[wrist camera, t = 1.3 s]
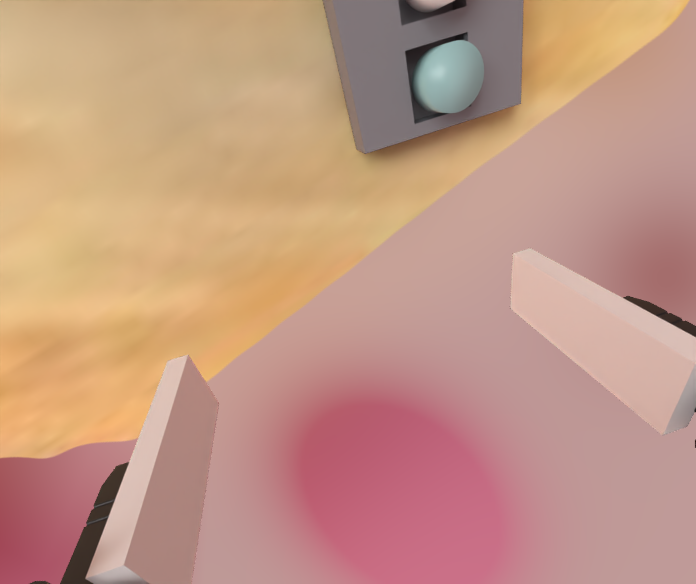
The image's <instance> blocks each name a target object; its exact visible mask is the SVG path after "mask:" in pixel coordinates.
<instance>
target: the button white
mask: <svg viewBox="0 0 696 584" xmlns="http://www.w3.org/2000/svg"><path fill="white" fill-rule="evenodd" d="M452 1H454V0H406V2H407V3H408V4H409V5H410V6H411V7H412V8H413V9H415V10H417V11H420V12H432V11H435V10H437V9H439V8H441V7H443V6H445V5H447V4H449V3H450V2H452Z"/></svg>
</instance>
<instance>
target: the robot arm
mask: <svg viewBox="0 0 696 584" xmlns="http://www.w3.org/2000/svg"><path fill="white" fill-rule="evenodd" d="M510 309H511V310H512V311H514V312H515V313H516V314H517V315H518V316H520V317H521V318H522V319H523V320H524V321H526V322H527V323H528V324H529V325H530V326H532V327H533V328H534V329H535V330H536V331H538V332H539V333H540V334H541V335H542V336H544V337H545V338H546V339H547V340H548V341H550V342H551V343H552V344H553V345H555V346H556V347H557V348H558V349H559V350H561V351H562V352H563V353H564V354H565V355H567V356H568V357H569V358H570V359H571V360H573V361H574V362H575V363H576V364H577V365H579V366H580V367H581V368H582V369H583V370H584V371H586V372H587V373H588V374H589V375H591V376H592V377H593V378H594V379H595V380H596V381H598V382H599V383H600V384H602V385H603V386H604V387H605V388H606V389H607V390H609V391H610V392H611V393H612V394H613V395H614V396H616V397H617V398H618V399H619V400H621V401H622V402H623V403H624V404H625V405H627V406H628V407H629V408H630V409H631V410H633V411H634V412H635V413H636V414H637V415H639V416H640V417H641V418H642V419H643V420H645V421H646V422H647V423H648V424H649V425H651V426H652V427H653V428H654V429H655V430H657V431H658V432H659V433H660V434H661V435H665V434H668V433H671V432H674V431H676V430H679V429H682V428H684V427H687V426H688V424H689V422H690V420H691V418H692V416H693V414H694V412H696V326H695V325H693V324H691V323H689V322H687V321H682V319H681V318H679V317H677V316H675V315H673V314H671V313H669V314H668V313H667V311H665V310H664V309H662V308H659V307H658V306H656V305H654V304H652V303H650V302H647V301H644V300H640V299H637V298H633V297H630V296H626V297H623V298H622V297H620V296H618V295H616V294H614V293H613V292H611V291H609V290H607V289H605V288H603V287H601V286H600V285H598V284H596V283H594V282H592V281H590V280H588V279H587V278H585V277H583V276H581V275H579V274H577V273H576V272H574V271H572V270H570V269H568V268H566V267H564V266H563V265H561V264H559V263H557V262H555V261H553V260H552V259H550V258H548V257H546V256H544V255H542V254H540V253H539V252H537V251H535V250H533V249H531V248H529V249H525V250H522V251H519V252H516V253H513V258H512V279H511V301H510ZM218 407H219V402H218V401H217V399H216V398H215V396H214V394H213V393H212V391H211V390H210V388H209V386H208V385H207V383H206V382H205V380H204V379H203V377H202V375H201V374H200V372H199V371H198V369H197V368H196V366H195V364H194V363H193V361H192V360H191V358H190V357H189V355H185V356H182V357H179V358H175V359H172V360H169V361H167V364H166V367H165V369H164V372H163V375H162V377H161V380H160V383H159V385H158V388H157V390H156V393H155V396H154V398H153V401H152V404H151V406H150V409H149V412H148V414H147V417H146V420H145V422H144V425H143V427H142V430H141V433H140V435H139V438H138V441H137V443H136V446H135V449H134V451H133V454H132V457H131V459H130V462H128V463H125V464H122V465H119V466H116V468H115V469H114V471H113V472H112V473H111V474H110V476H109V477H108V478H107V480H106V481H105V483H104V484H103V485H102V487H101V489H100V492H99V494H98V497H97V499H96V501H95V503H94V509H93V510H92V511H91V513H90V516H89V518H88V520H87V522H86V523H87V526H86V527H84V529H83V532H82V534H81V536H80V539H79V541H78V543H77V546H76V548H75V550H74V553H73V555H72V557H71V560H70V562H69V565H68V567H67V569H66V572H65V574H64V576H63V578H62V581H61V583H60V584H192V577H193V571H194V564H195V558H196V551H197V545H198V538H199V532H200V525H201V518H202V512H203V505H204V499H205V492H206V485H207V479H208V472H209V465H210V459H211V453H212V446H213V440H214V433H215V427H216V420H217V414H218ZM695 448H696V440H695ZM30 584H50V583H48V582H46V581H35V582H32V583H30Z"/></svg>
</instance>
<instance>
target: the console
mask: <svg viewBox="0 0 696 584" xmlns="http://www.w3.org/2000/svg"><path fill="white" fill-rule="evenodd" d="M323 4H324V8H325V12H326V17H327V21H328V26H329V30H330V35H331V39H332V43H333V48H334V52H335V57H336V61H337V65H338V70H339V74H340V79H341V83H342V88H343V92H344V96H345V101H346V105H347V110H348V114H349V118H350V123H351V127H352V132H353V136H354V141H355V145H356V149H357V150H359V151H361V152H363V153H365V154H366V153H369V152H372V151H376V150H379V149H382V148H385V147H388V146H391V145H394V144H397V143H400V142H403V141H407V140H410V139H413V138H416V137H419V136H422V135H425V134H428V133H431V132H434V131H438V130H441V129H444V128H447V127H450V126H453V125H456V124H459V123H462V122H465V121H469V120H472V119H475V118H478V117H481V116H484V115H487V114H490V113H493V112H496V111H500V110H503V109H506V108H509V107H512V106H515V105H518V104H521V77H522V36H523V0H454V1H452V2H450V3H449V4H447V5H445V6H443V7H441V8H439V9H437V10H435V11H432V12H420V11H417V10H415V9H413V8H412V7H411V6H410V5H409V4H408V3H407V2H406V0H323ZM456 40H464V41H468V42H470V43H472V44H473V45H474V46H475V47H476V48H477V49H478V50H479V52H480V54H481V56H482V59H483V63H484V79H483V83H482V86H481V89H480V91H479V93H478V95H477V97H476V98H475V100H474V101H473V102H472V103H471V104H470V105H469V106H468V107H467V108H465V109H464V110H462V111H460V112H457V113H439V112H430V111H427V110H425V109H423V108H422V107H421V106H420V105H419V104H418V103H417V101H416V100H415V97H414V95H413V90H412V76H413V72H414V69H415V66H416V64H417V62H418V60H419V59H420V58H421V56H422V55H423V54H424V53H425V52H426V51H428V50H429V49H431V48H433V47H436V46H439V45H442V44H446V43H449V42H452V41H456Z"/></svg>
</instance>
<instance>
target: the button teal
mask: <svg viewBox="0 0 696 584" xmlns="http://www.w3.org/2000/svg"><path fill="white" fill-rule="evenodd" d="M483 79H484V63H483V59H482V56H481V54H480V52H479V50H478V49H477V48H476V47H475V46H474V45H473V44H472V43H470V42H468V41H464V40H456V41H452V42H449V43H446V44H442V45H439V46H436V47H433V48H431V49H429V50H428V51H426V52H425V53H424V54H423V55H422V56H421V58H420V59H419V60H418V62H417V64H416V66H415V69H414V72H413V76H412V90H413V95H414V97H415V100H416V101H417V103H418V104H419V105H420V106H421V107H422V108H423V109H425V110H427V111H430V112H439V113H457V112H460V111H462V110H464V109H465V108H467V107H468V106H469V105H470V104H471V103H472V102H473V101H474V100H475V98H476V97H477V95H478V93H479V91H480V89H481V86H482V83H483Z"/></svg>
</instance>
